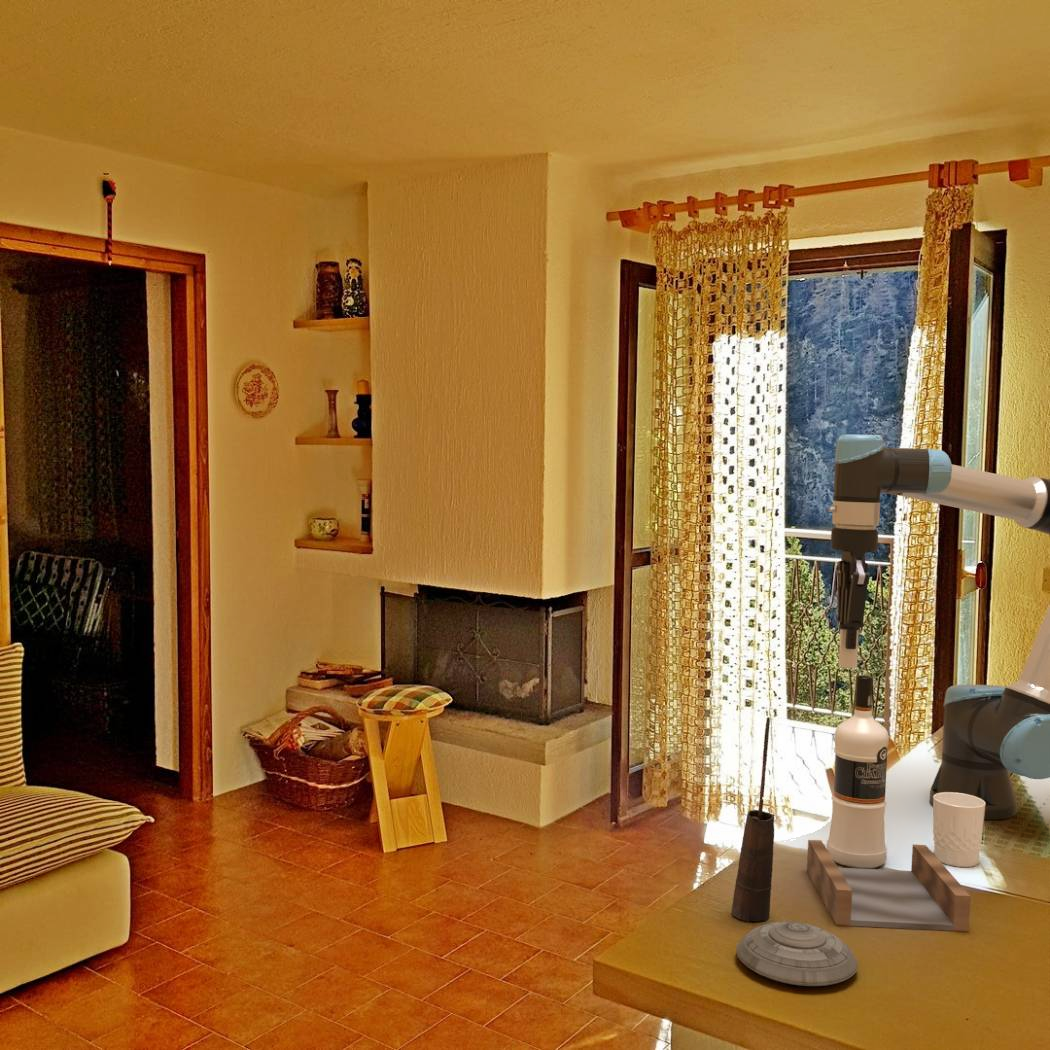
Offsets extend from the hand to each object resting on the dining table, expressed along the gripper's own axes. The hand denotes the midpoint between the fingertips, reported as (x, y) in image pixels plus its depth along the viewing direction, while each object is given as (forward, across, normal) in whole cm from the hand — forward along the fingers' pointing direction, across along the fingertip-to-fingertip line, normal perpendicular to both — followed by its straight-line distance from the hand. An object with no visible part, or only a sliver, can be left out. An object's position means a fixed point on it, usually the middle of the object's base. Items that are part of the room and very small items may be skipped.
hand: (847, 667), depth 188 cm
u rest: (+29, +26, 0) cm, 39 cm away
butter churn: (+30, +35, -20) cm, 50 cm away
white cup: (+30, +8, +17) cm, 35 cm away
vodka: (+30, +10, 0) cm, 31 cm away
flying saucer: (+30, +49, -16) cm, 60 cm away
